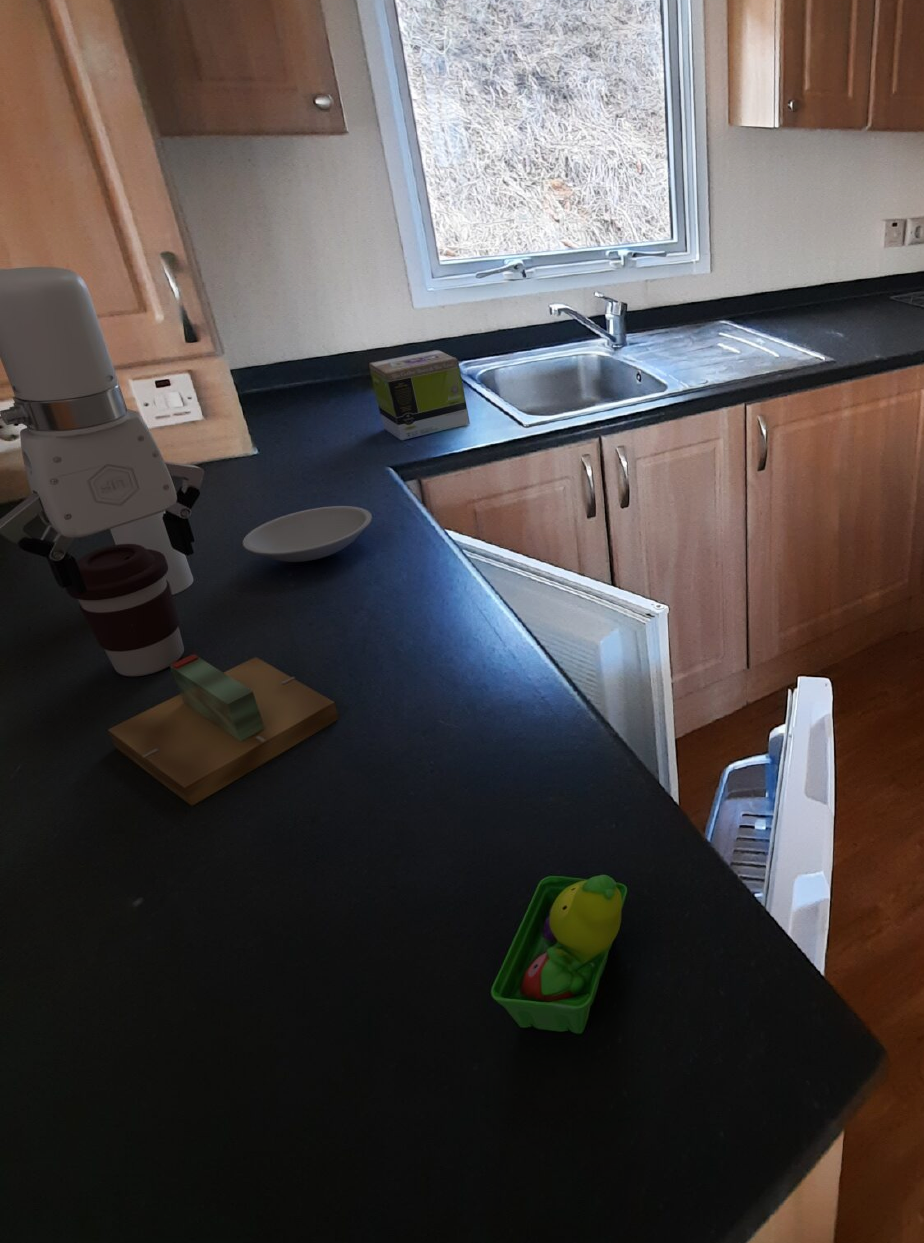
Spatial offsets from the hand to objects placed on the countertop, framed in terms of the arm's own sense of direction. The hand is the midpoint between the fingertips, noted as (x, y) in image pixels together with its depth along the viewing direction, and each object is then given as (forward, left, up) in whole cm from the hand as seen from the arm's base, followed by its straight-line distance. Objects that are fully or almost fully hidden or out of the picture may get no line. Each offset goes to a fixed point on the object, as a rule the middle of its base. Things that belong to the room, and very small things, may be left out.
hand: (132, 569), depth 87 cm
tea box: (+77, +61, -21) cm, 100 cm away
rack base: (+2, -3, -21) cm, 21 cm away
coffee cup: (+4, +19, -21) cm, 28 cm away
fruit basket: (+1, -57, -21) cm, 61 cm away
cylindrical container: (+14, +37, -21) cm, 45 cm away
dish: (+31, +27, -21) cm, 46 cm away
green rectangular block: (+2, -3, -18) cm, 19 cm away
